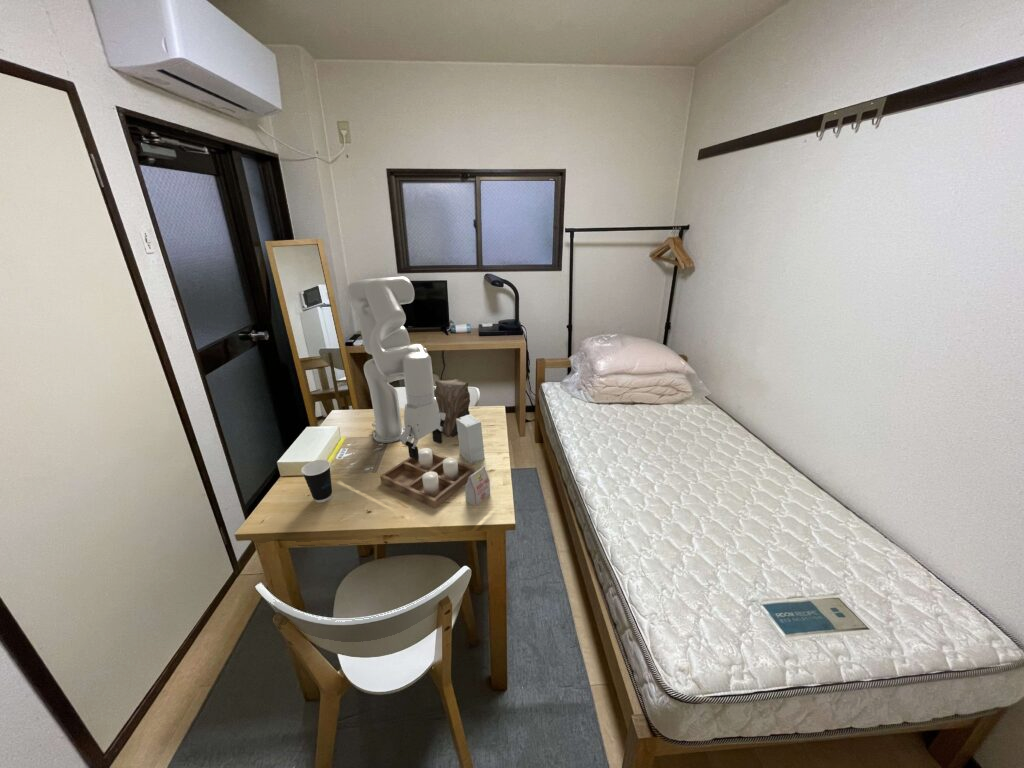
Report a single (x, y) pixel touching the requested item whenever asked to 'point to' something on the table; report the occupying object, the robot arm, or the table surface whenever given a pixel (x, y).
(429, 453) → the egg left
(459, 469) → the rack
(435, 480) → the egg
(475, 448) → the skincare box
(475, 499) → the milk carton
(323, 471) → the dixie cup
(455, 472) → the egg right
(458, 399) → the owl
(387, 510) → the table surface
